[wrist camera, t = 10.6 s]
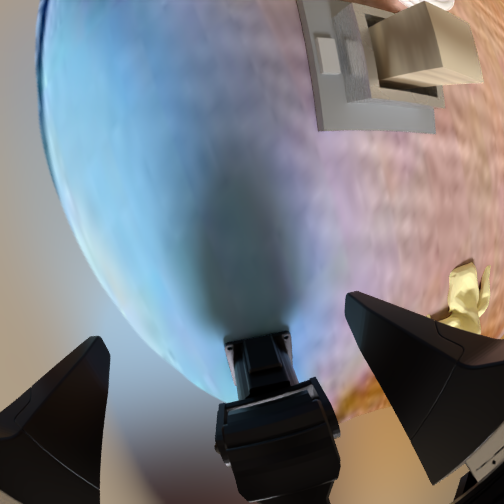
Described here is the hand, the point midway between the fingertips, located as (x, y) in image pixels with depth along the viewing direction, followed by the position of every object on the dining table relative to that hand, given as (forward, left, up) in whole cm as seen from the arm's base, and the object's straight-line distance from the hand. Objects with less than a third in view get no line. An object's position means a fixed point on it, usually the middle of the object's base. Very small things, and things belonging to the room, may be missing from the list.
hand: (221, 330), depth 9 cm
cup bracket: (+12, -15, -12) cm, 23 cm away
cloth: (-18, -33, -14) cm, 40 cm away
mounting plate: (+12, -15, -13) cm, 23 cm away
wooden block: (+12, -15, -12) cm, 22 cm away
